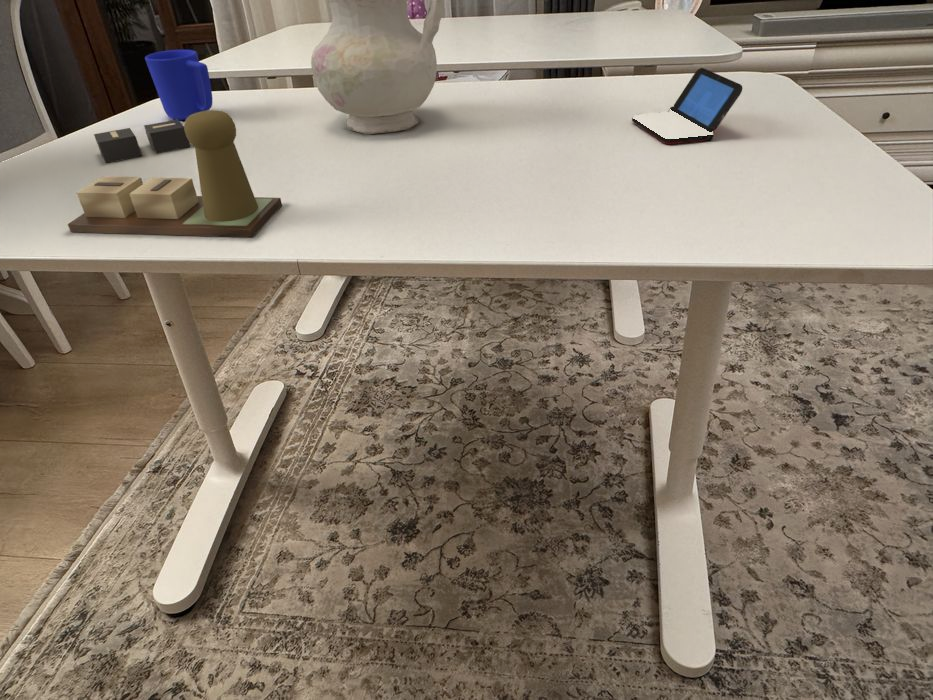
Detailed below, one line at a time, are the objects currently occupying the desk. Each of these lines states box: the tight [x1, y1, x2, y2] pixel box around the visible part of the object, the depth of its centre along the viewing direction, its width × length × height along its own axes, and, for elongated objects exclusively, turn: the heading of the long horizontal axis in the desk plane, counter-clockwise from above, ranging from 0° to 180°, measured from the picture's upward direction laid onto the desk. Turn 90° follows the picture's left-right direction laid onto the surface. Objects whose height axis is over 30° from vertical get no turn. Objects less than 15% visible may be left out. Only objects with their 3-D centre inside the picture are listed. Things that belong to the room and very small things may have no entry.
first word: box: [93, 119, 191, 164], centre depth 97 cm, size 5×12×3 cm, turn 122°
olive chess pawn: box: [183, 109, 258, 221], centre depth 71 cm, size 6×6×11 cm
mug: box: [144, 49, 213, 121], centre depth 109 cm, size 8×12×10 cm
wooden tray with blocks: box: [67, 176, 283, 238], centre depth 75 cm, size 22×9×4 cm, turn 82°
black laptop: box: [631, 67, 743, 145], centre depth 95 cm, size 12×11×7 cm
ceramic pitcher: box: [310, 0, 445, 136], centre depth 98 cm, size 22×20×25 cm
